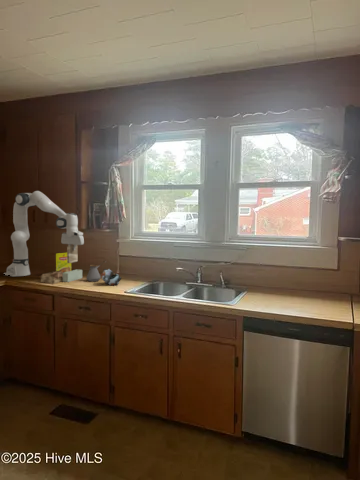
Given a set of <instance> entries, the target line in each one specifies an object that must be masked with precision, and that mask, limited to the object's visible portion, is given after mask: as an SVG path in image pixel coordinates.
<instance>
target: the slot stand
mask: <svg viewBox="0 0 360 480" xmlns="http://www.w3.org/2000/svg"><path fill="white" fill-rule="evenodd" d="M80 279H83V269H73V270H72V269H71V271H68V272H64V273H63V281H62V282H63V283H70V282H73V281H77V280H80Z"/></svg>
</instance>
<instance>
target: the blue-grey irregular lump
mask: <svg viewBox="0 0 360 480" xmlns="http://www.w3.org/2000/svg"><path fill="white" fill-rule="evenodd" d="M100 276H101V278H102V281H103V282H104V283H105V284H107V285H110V286H112V287H115V286H118V285H119V284H120V282H121V280H122V276H120V275H119V274H118V273H115V272H113V270H111V269H110V268H108V269H106V268H103V271H102V272H101V274H100Z"/></svg>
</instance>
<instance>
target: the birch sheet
mask: <svg viewBox="0 0 360 480" xmlns="http://www.w3.org/2000/svg"><path fill="white" fill-rule="evenodd" d="M78 246H79V245H77V246H76V248H75V250H73V248H74V245H73V244H71V245H70V246H68V245H67V246H66V248H67V249H66V253H67V263H71V264H73V263H77V262H78V260H79V259H78V253H79V252H78V248H79V247H78Z"/></svg>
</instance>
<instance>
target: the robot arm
mask: <svg viewBox="0 0 360 480" xmlns="http://www.w3.org/2000/svg"><path fill="white" fill-rule="evenodd" d="M14 201H15V202H14V203H13V209H12V210H13V211H12V213H13V214H12V216H13V217H12V218H13V219H12V222H13V225H14V230H15V231H13V232H12V233H11V235H10V241H11V243H12V247H13V258H12V259H11V261H12V263H11V264H10V265H8V266H7V267H6V272H4V273H3V274H5V275H4V276H8V275H10V276H9V277H24V276H25V277H26V276H30V275H31V270H30V264H29V261H30V260H29V259H30V258H29V248H28V246H27V241H28V240H29V239H30V234H31V233H30V230H29V229H30V228H29V224H28V209H29V207H30V208H32V207H37V208H39V209H40V210H41V212H42V211H43V212H45V213H50V214H54V215H56V216H57V219H56V220H55V225H56V227H57V228H58V229H63V230H64V229H66V232H62V234H61V239H60V240H61V241H60V242H61V244H63V245H67V246H70V245H74V248H73V250H75V248H76V246H77V245H78V246H82V245H84V244H85V240H84V232H82V231H80V230H79V227H78V226H79V218H78V215H77V214H76V213H74V212H68V213H67V212H65V211H64V210H63V209H62V208H61V207H60V206H58V205H57V204H56V203H54V202H53V201H52V200H51V199H50V198H49V197H48V196H47V195H46V194H44V193H43V192H42V191H40V190H35V191H33V192H32V193H31V192H21V193H17V194H16V196H15V197H14Z"/></svg>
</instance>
